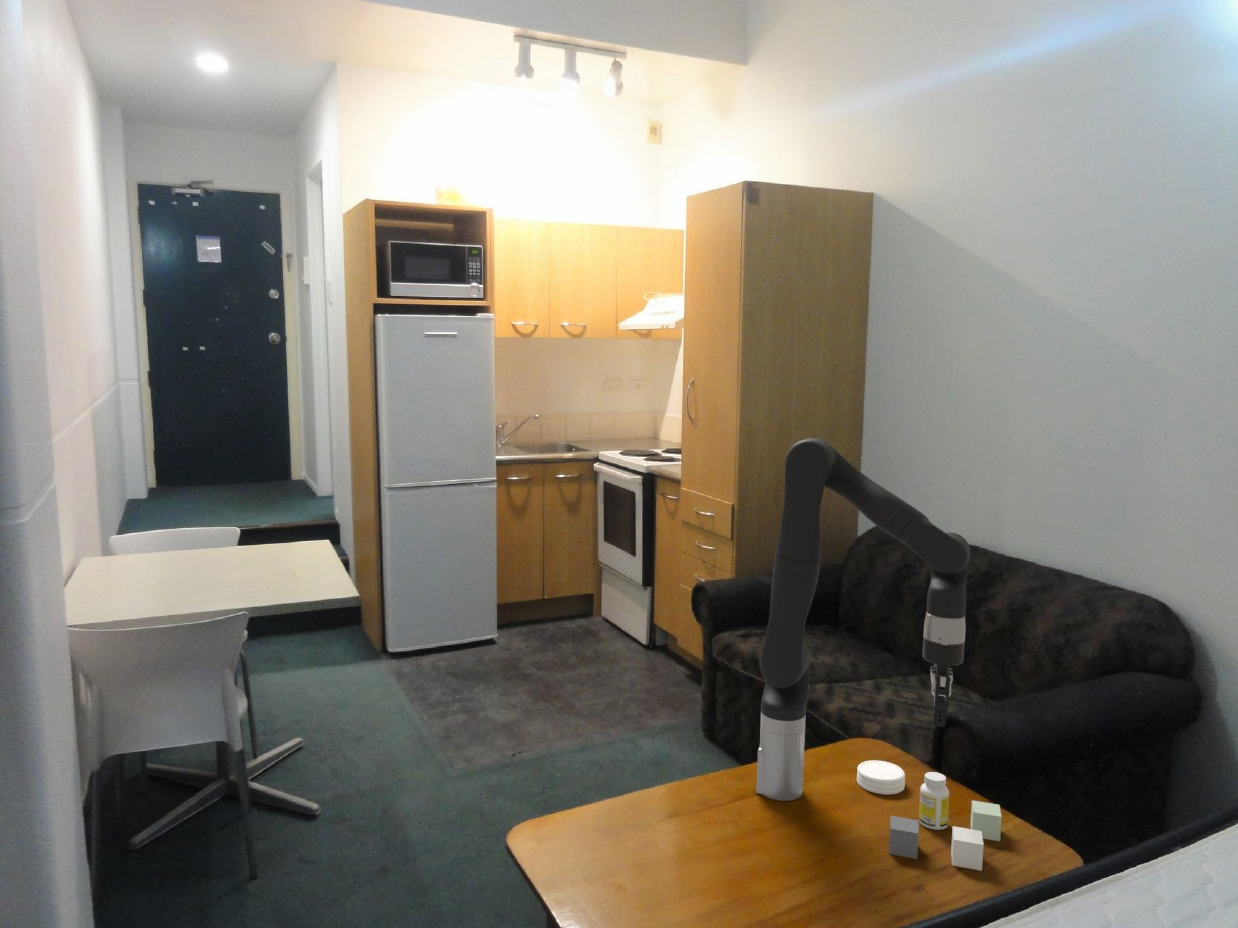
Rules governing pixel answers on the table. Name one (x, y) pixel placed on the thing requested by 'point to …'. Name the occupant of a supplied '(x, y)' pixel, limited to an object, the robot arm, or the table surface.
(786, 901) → the table surface
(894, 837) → the medium grey block
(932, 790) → the supplement bottle
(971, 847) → the pale grey block
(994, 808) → the sage block
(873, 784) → the coaster
